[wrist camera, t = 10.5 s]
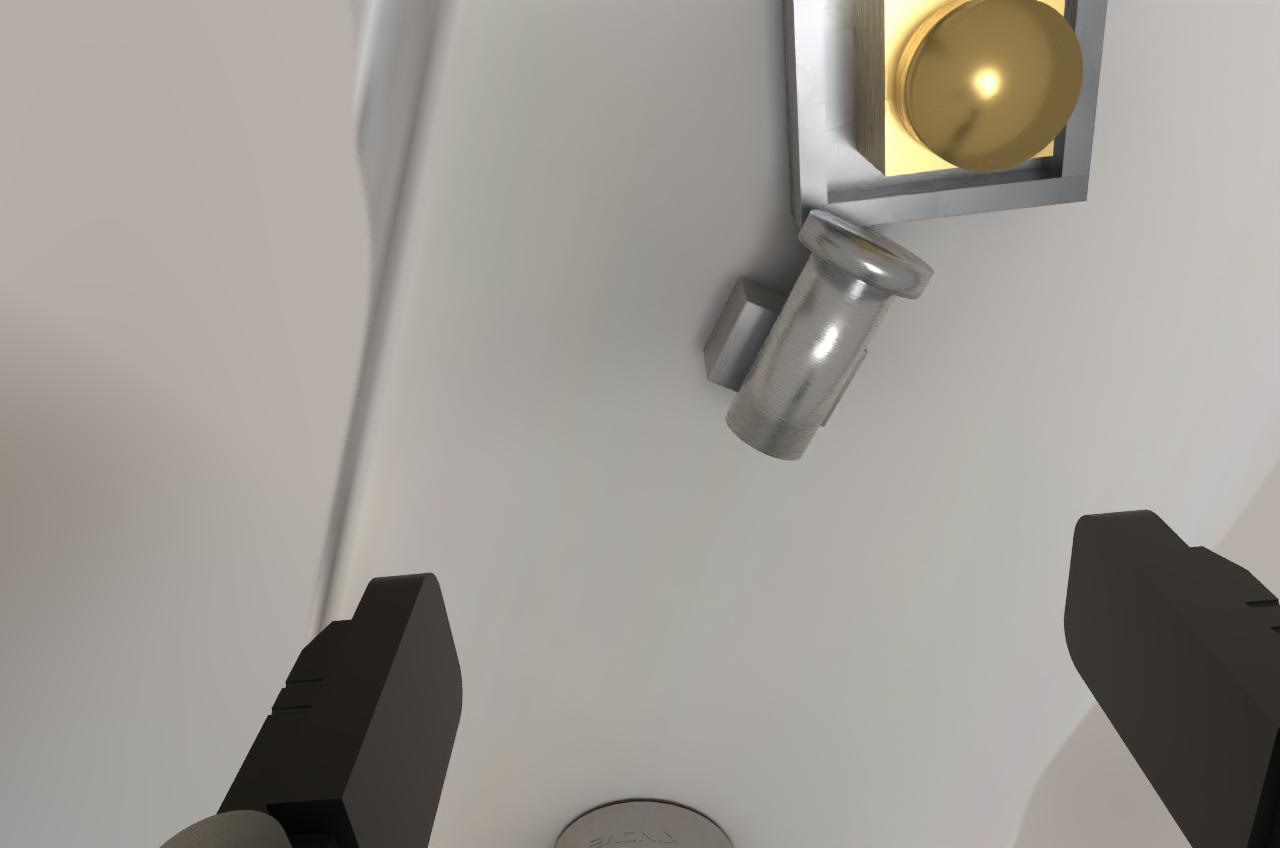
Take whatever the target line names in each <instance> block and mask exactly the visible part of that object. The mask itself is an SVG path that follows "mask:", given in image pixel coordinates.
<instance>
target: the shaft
mask: <svg viewBox="0 0 1280 848" xmlns="http://www.w3.org/2000/svg"><path fill="white" fill-rule="evenodd" d="M798 239H799V240H800V242H801V243H802V244H803V245H804V246H805V247H806V248H808V249H809V250H810V251H811V252H812V253H811V255H810V257H809V259H808V261H807V263H806V265H805V266H804V268H803V270H802V272H801V274H800V276H799V278H798V280H797V282H796V283H795V285H794V287H793V289H792V291H791V293H790V295H789V297H787V296H785V295H782V294H780V293H778V292H775V291H773V290H770V289H768V288H766V287H763V286H761V285H759V284H756V283H754V282H752V281H749V280H747V279H745V278H742V277H740V278H739V280H738V282H737V284H736V286H735V288H734V290H733V292H732V294H731V296H730V298H729V300H728V302H727V304H726V306H725V308H724V310H723V312H722V314H721V317H720V319H719V321H718V323H717V325H716V327H715V329H714V331H713V333H712V335H711V337H710V339H709V341H708V343H707V345H706V347H705V349H704V357H705V365H706V373H707V380H709V381H712V382H714V383H716V384H719V385H721V386H724V387H726V388H729V389H731V390H734V391H736V392H738V393H737V395H736V397H735V399H734V401H733V403H732V405H731V406H730V408H729V410H728V412H727V414H726V417H725V420H726V423H727V425H728V426H729V428H730V429H731V430H732V432H733V433H734V434H735V435H736V436H738V437H739V438H740V439H741V440H742V441H744V442H745V443H747V444H748V445H750V446H751V447H753V448H755V449H756V450H758V451H760V452H762V453H764V454H767V455H769V456H772V457H775V458H778V459H782V460H798V459H800V458H801V457H802V455H803V454H804V452H805V450H806V449H807V447H808V445H809V443H810V442H811V440H812V438H813V437H814V435H815V433H816V431H817V430H818V428H819V426H823V427H824V426H825V424H826V422H827V421H828V419H829V417H830V416H831V414H832V412H833V411H834V409H835V407H836V405H837V404H838V402H839V400H840V399H841V397H842V395H843V394H844V392H845V390H846V388H847V387H848V385H849V383H850V382H851V380H852V378H853V377H854V375H855V373H856V371H857V370H858V368H859V366H860V365H861V363H862V361H863V360H864V358H865V356H866V354H867V353H868V352H867V350H866V346H867V344H868V343H869V341H870V339H871V338H872V336H873V334H874V333H875V331H876V329H877V327H878V326H879V324H880V322H881V321H882V319H883V317H884V315H885V314H886V312H887V310H888V309H889V307H890V305H891V304H892V302H893V300H894V298H895V297H896V295H897V296H900V297H904V298H909V299H918V298H919V297H920V295H921V294H922V292H923V290H924V289H925V287H926V285H927V284H928V282H929V280H930V279H931V277H932V275H933V274H934V271H933V269H932V268H931V267H930V266H929V265H928V264H927V263H925V262H924V261H923V260H922V259H920V258H919V257H917V256H916V255H914V254H913V253H911V252H910V251H908V250H907V249H905V248H903V247H902V246H900V245H898V244H896V243H895V242H893V241H891V240H889V239H887V238H886V237H884V236H882V235H880V234H878V233H876V232H874V231H872V230H870V229H868V228H866V227H864V226H857V225H855V224H852V223H850V222H848V221H846V220H844V219H841V218H839V217H837V216H835V215H832V214H830V213H828V212H825V211H821V210H811V211H810V213H809V215H808V217H807V219H806V221H805V223H804V225H803V227H802V229H801V231H800V233H799V235H798Z"/></svg>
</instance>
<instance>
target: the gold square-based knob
mask: <svg viewBox="0 0 1280 848" xmlns="http://www.w3.org/2000/svg"><path fill="white" fill-rule="evenodd" d="M853 1H854V56H855V111H856V151H857V152H858V153H859V154H861V155H862V156H863V157H864V158H865V159H866V160H867V161H868V162H870V163H871V164H872V165H873V166H874V167H875V168H876V169H878V170H879V171H880V172H881V173H882V174H883V175H884V176H893V175H901V174H909V173H917V172H925V171H933V170H941V169H949V168H957V167H959V168H962V169H965V170H970V171H977V172H991V171H998V170H1004V169H1007V168H1010V167H1013V166H1016V165H1018V164H1021V163H1023V162H1025V161H1027V160H1028V159H1030V158H1038V157H1046V156H1053V148H1054V139H1055V138H1056V136H1057V135H1058V134H1059V133H1060V132H1061V130H1062V129H1063V128H1064V126H1065V125H1066V123H1067V122H1068V120H1069V118H1070V116H1071V114H1072V113H1073V111H1074V108H1075V106H1076V103H1077V101H1078V98H1079V94H1080V90H1081V86H1082V79H1083V59H1082V52H1081V48H1080V44H1079V41H1078V39H1077V36H1076V34H1075V32H1074V30H1073V29H1072V27H1071V25H1070V24H1069V23H1068V21H1067V20H1066V19H1065V18H1064V8H1065V0H853Z"/></svg>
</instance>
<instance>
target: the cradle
mask: <svg viewBox="0 0 1280 848" xmlns="http://www.w3.org/2000/svg"><path fill="white" fill-rule="evenodd" d="M1106 10H1107V0H1065V8H1064V18H1065V19H1066V20H1067V21H1068V23H1069V24H1070V25H1071V27H1072V29H1073V30H1074V32H1075V34H1076V36H1077V39H1078V41H1079V44H1080V48H1081V52H1082V59H1083V79H1082V86H1081V90H1080V94H1079V98H1078V101H1077V103H1076V106H1075V108H1074V111H1073V113H1072V114H1071V116H1070V118H1069V120H1068V122H1067V123H1066V125H1065V126H1064V128H1063V129H1062V130H1061V132H1060V133H1059V134H1058V135H1057V136H1056V138H1055V139H1054V148H1053V156H1046V157H1038V158H1030V159H1028V160H1027V161H1025V162H1023V163H1021V164H1018V165H1016V166H1013V167H1010V168H1007V169H1004V170H998V171H991V172H977V171H970V170H965V169H962V168H959V167H957V168H949V169H941V170H933V171H925V172H917V173H909V174H901V175H893V176H884V175H883V174H882V173H881V172H880V171H879V170H878V169H876V168H875V167H874V166H873V165H872V164H871V163H870V162H868V161H867V160H866V159H865V158H864V157H863V156H862V155H861V154H859V153H858V152H857V151H856V111H855V56H854V1H853V0H783V20H784V44H785V67H786V90H787V114H788V137H789V161H790V184H791V208H792V216H793V217H794V219H795V221H796V223H797V224H798V226H799V228H800V230H801V229H802V227H803V225H804V223H805V221H806V219H807V217H808V215H809V213H810V211H811V210H821V211H825V212H828V213H830V214H832V215H835V216H837V217H839V218H841V219H844V220H846V221H848V222H850V223H852V224H855V225H857V226H868V225H876V224H885V223H894V222H903V221H912V220H921V219H930V218H939V217H948V216H956V215H965V214H974V213H983V212H992V211H1001V210H1010V209H1019V208H1027V207H1036V206H1045V205H1054V204H1063V203H1072V202H1081V201H1086V199H1087V190H1088V180H1089V171H1090V161H1091V152H1092V142H1093V133H1094V123H1095V114H1096V104H1097V95H1098V86H1099V76H1100V67H1101V57H1102V48H1103V38H1104V29H1105V19H1106Z"/></svg>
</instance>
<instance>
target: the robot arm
mask: <svg viewBox="0 0 1280 848" xmlns="http://www.w3.org/2000/svg"><path fill="white" fill-rule="evenodd" d="M1064 630H1065V637H1066V642H1067V647H1068V650H1069V653H1070V656H1071V659H1072V661H1073V663H1074V666H1075V667H1076V669H1077V671H1078V672H1079V674H1080V675H1081V677H1082V679H1083V680H1084V682H1085V683H1086V685H1087V686H1088V688H1089V689H1090V691H1091V692H1092V694H1093V695H1094V697H1095V699H1096V700H1097V702H1098V703H1099V705H1100V706H1101V707H1102V709H1103V711H1104V712H1105V714H1106V715H1107V717H1108V718H1109V720H1110V722H1111V723H1112V725H1113V726H1114V728H1115V729H1116V731H1117V732H1118V734H1119V735H1120V737H1121V738H1122V740H1123V742H1124V743H1125V745H1126V746H1127V748H1128V749H1129V751H1130V752H1131V754H1132V755H1133V757H1134V758H1135V760H1136V761H1137V763H1138V764H1139V766H1140V768H1141V769H1142V771H1143V772H1144V773H1145V775H1146V777H1147V778H1148V780H1149V781H1150V783H1151V784H1152V786H1153V788H1154V789H1155V791H1156V792H1157V794H1158V795H1159V797H1160V798H1161V800H1162V801H1163V803H1164V804H1165V806H1166V808H1167V809H1168V811H1169V812H1170V814H1171V815H1172V817H1173V818H1174V820H1175V821H1176V823H1177V824H1178V826H1179V828H1180V829H1181V831H1182V832H1183V834H1184V835H1185V837H1186V838H1187V840H1188V841H1189V843H1190V844H1191V846H1192V847H1193V848H1280V605H1279V602H1278V599H1277V598H1276V597H1275V596H1274V595H1273V594H1272V593H1271V592H1270V591H1269V590H1268V589H1267V588H1266V587H1265V586H1264V585H1263V584H1262V583H1261V582H1260V581H1258V580H1257V579H1256V578H1255V577H1254V576H1253V575H1252V574H1251V573H1250V572H1249V571H1248V570H1246V569H1244V568H1243V567H1241V566H1239V565H1237V564H1235V563H1233V562H1231V561H1229V560H1227V559H1226V558H1223V557H1222V556H1220V555H1218V554H1216V553H1214V552H1212V551H1210V550H1209V549H1207V548H1205V547H1203V546H1200V547H1189V546H1188V545H1187V544H1186V543H1185V542H1184V541H1183V540H1182V539H1181V538H1180V537H1179V536H1178V535H1177V534H1176V533H1175V532H1174V531H1173V530H1172V529H1171V528H1170V527H1169V526H1168V525H1167V524H1166V523H1165V522H1164V521H1163V520H1162V519H1161V518H1160V517H1159V516H1158V515H1156V514H1155V513H1154V512H1152V511H1150V510H1136V511H1125V512H1114V513H1103V514H1092V515H1084V516H1082V517H1081V518H1080V519H1079V520H1078V522H1077V524H1076V527H1075V531H1074V537H1073V546H1072V554H1071V563H1070V571H1069V580H1068V588H1067V597H1066V605H1065V613H1064ZM461 710H462V677H461V670H460V665H459V661H458V657H457V653H456V649H455V645H454V641H453V637H452V633H451V629H450V625H449V621H448V617H447V613H446V609H445V605H444V601H443V597H442V593H441V589H440V585H439V582H438V580H437V578H436V576H435V575H434V574H433V573H422V574H411V575H400V576H389V577H378V578H373V579H372V580H371V581H370V582H369V584H368V586H367V588H366V590H365V592H364V594H363V596H362V599H361V601H360V603H359V605H358V607H357V609H356V611H355V614H354V616H353V618H352V620H342V621H332V622H331V623H330V624H329V625H328V626H327V627H326V628H325V629H324V630H323V631H322V632H321V633H320V634H319V635H318V636H316V637H315V638H314V639H313V640H312V641H311V642H310V643H309V644H308V645H307V646H306V647H305V648H304V649H303V650H302V651H301V653H300V655H299V657H298V659H297V661H296V663H295V665H294V667H293V669H292V670H291V672H290V674H289V676H288V678H287V680H286V688H282V690H281V691H280V693H279V695H278V697H277V699H276V701H275V703H274V705H273V707H272V715H268V716H267V718H266V720H265V722H264V724H263V726H262V728H261V730H260V732H259V734H258V735H257V738H256V739H255V741H254V743H253V745H252V747H251V749H250V751H249V753H248V755H247V757H246V759H245V760H244V762H243V764H242V766H241V768H240V770H239V772H238V774H237V776H236V778H235V780H234V782H233V783H232V785H231V787H230V789H229V791H228V793H227V795H226V797H225V799H224V801H223V802H222V804H221V806H220V808H219V810H218V812H217V814H216V815H214V816H211V817H208V818H206V819H203V820H201V821H199V822H197V823H195V824H193V825H191V826H189V827H187V828H186V829H184V830H183V831H181V832H179V833H178V834H176V835H175V836H174V837H172V838H171V839H169V840H168V841H167V842H165V843H164V844H163V845H162V846H161V847H160V848H428V844H429V840H430V836H431V832H432V828H433V824H434V820H435V816H436V812H437V808H438V804H439V800H440V796H441V792H442V788H443V784H444V780H445V776H446V772H447V768H448V764H449V760H450V757H451V753H452V749H453V745H454V741H455V737H456V733H457V729H458V725H459V721H460V716H461ZM555 848H732V845H731V843H730V841H729V840H728V838H727V837H726V836H725V835H724V833H723V832H722V831H721V829H719V828H718V827H717V826H716V825H714V824H713V823H712V822H711V821H709V820H708V819H706V818H704V817H702V816H701V815H699V814H697V813H695V812H693V811H691V810H687V809H684V808H681V807H678V806H675V805H670V804H664V803H657V802H628V803H621V804H614V805H610V806H607V807H604V808H601V809H598V810H595V811H593V812H591V813H589V814H587V815H585V816H583V817H581V818H579V819H578V820H577V821H575V822H574V823H573V824H572V825H571V826H569V827H568V828H567V829H566V830H565V831H564V833H563V834H562V835H561V837H560V838H559V839H558V841H557V843H556V846H555Z"/></svg>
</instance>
